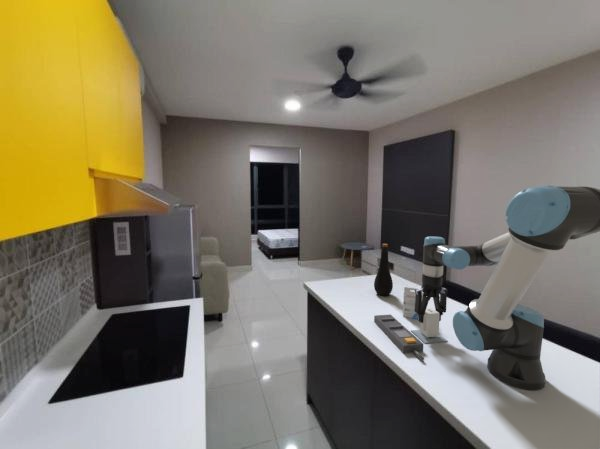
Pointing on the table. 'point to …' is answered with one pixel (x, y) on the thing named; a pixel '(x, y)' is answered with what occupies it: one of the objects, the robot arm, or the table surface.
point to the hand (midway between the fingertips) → (429, 328)
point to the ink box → (410, 303)
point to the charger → (431, 323)
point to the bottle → (383, 275)
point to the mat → (428, 339)
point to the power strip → (399, 334)
